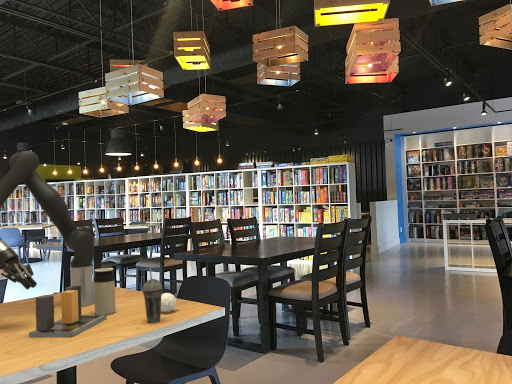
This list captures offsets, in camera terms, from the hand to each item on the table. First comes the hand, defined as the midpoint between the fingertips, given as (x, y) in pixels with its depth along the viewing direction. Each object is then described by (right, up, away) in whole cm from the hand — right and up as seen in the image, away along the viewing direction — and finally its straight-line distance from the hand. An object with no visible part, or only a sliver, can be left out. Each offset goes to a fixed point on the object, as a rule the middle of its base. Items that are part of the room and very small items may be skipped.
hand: (32, 286), depth 156 cm
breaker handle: (+15, -12, -3) cm, 20 cm away
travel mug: (+21, -15, +17) cm, 31 cm away
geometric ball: (+47, -14, +14) cm, 51 cm away
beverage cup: (+45, -13, +1) cm, 47 cm away
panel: (+15, -14, -3) cm, 21 cm away
